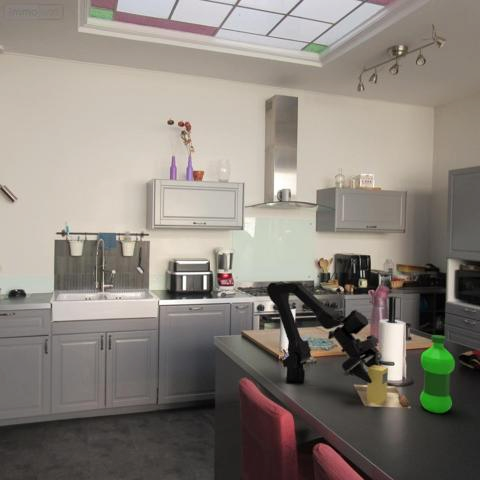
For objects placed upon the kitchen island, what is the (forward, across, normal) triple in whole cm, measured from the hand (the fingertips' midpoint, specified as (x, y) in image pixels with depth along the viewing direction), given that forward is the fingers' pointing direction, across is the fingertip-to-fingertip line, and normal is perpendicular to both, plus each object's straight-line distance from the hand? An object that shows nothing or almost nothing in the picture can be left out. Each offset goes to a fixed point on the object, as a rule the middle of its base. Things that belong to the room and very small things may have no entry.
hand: (376, 379), depth 169 cm
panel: (+5, +6, +6) cm, 10 cm away
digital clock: (-7, +29, +19) cm, 36 cm away
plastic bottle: (+19, +6, -7) cm, 21 cm away
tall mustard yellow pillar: (+5, 0, +5) cm, 7 cm away
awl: (+10, +5, 0) cm, 12 cm away
